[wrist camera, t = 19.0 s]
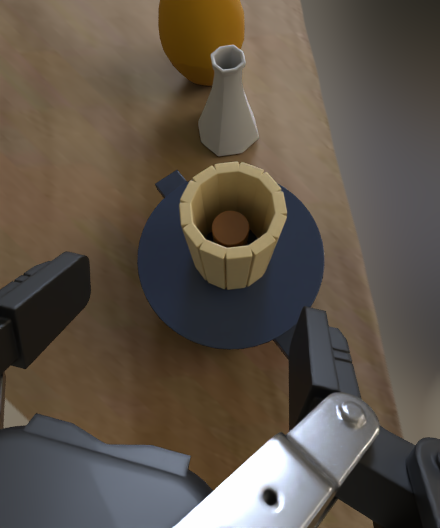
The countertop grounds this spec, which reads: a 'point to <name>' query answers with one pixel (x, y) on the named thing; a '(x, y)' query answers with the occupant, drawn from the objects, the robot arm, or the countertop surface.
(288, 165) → the countertop surface
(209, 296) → the pot lid
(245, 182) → the pale yellow hollow cylinder
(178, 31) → the round orange vase
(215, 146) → the flask
